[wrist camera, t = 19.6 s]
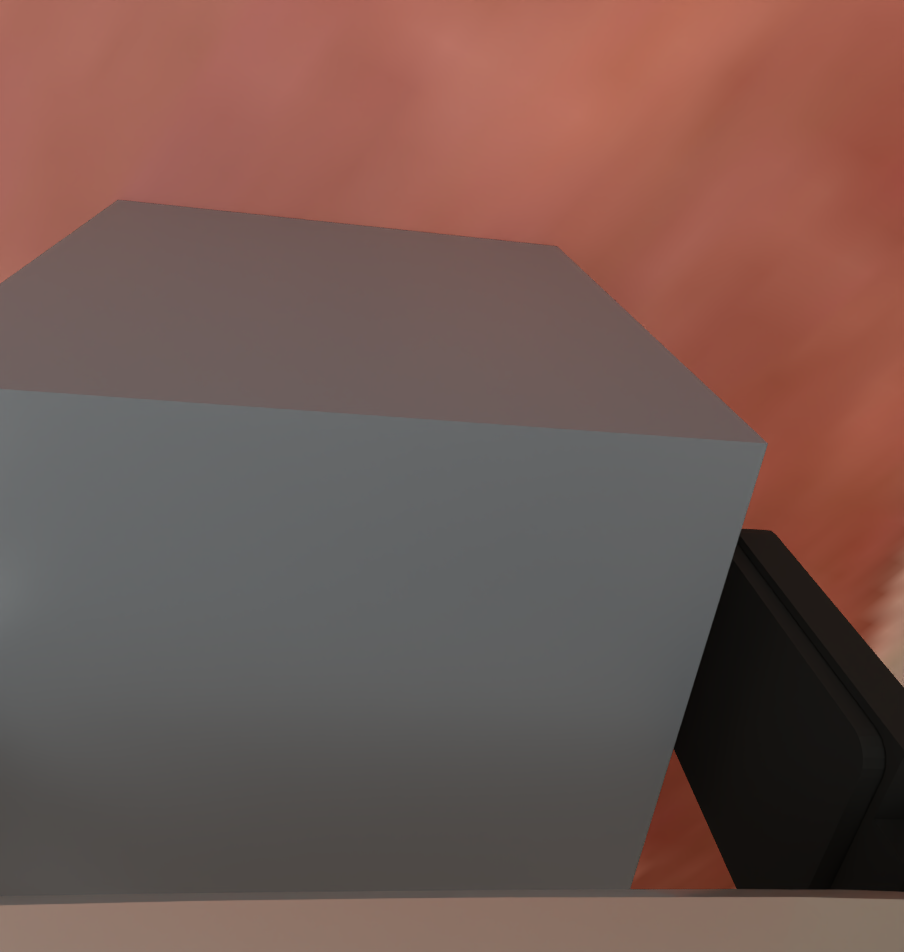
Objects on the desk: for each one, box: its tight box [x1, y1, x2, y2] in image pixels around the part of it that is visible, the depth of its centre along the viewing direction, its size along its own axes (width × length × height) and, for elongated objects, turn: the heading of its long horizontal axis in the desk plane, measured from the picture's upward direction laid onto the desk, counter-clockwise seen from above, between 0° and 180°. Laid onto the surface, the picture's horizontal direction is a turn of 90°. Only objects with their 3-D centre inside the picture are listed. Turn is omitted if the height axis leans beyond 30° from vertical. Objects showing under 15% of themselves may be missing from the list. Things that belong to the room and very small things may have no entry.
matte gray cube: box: [0, 200, 768, 896], centre depth 13 cm, size 8×8×9 cm
